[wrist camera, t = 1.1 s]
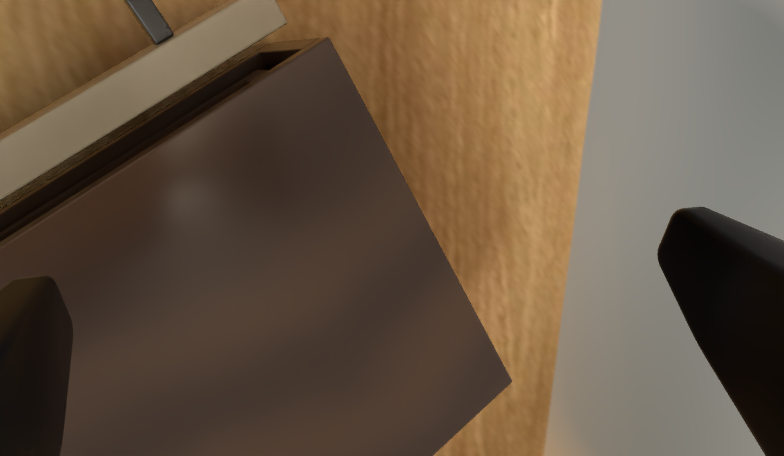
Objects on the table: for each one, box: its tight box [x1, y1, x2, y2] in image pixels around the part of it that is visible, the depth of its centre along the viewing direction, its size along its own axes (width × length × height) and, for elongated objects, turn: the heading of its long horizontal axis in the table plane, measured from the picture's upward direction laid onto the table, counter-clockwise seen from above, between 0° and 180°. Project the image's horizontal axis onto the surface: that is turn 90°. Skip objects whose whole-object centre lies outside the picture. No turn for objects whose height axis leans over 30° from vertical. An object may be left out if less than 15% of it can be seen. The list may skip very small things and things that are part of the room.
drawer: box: [0, 0, 287, 242], centre depth 19 cm, size 19×12×4 cm, turn 28°
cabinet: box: [0, 37, 512, 456], centre depth 21 cm, size 15×13×6 cm
